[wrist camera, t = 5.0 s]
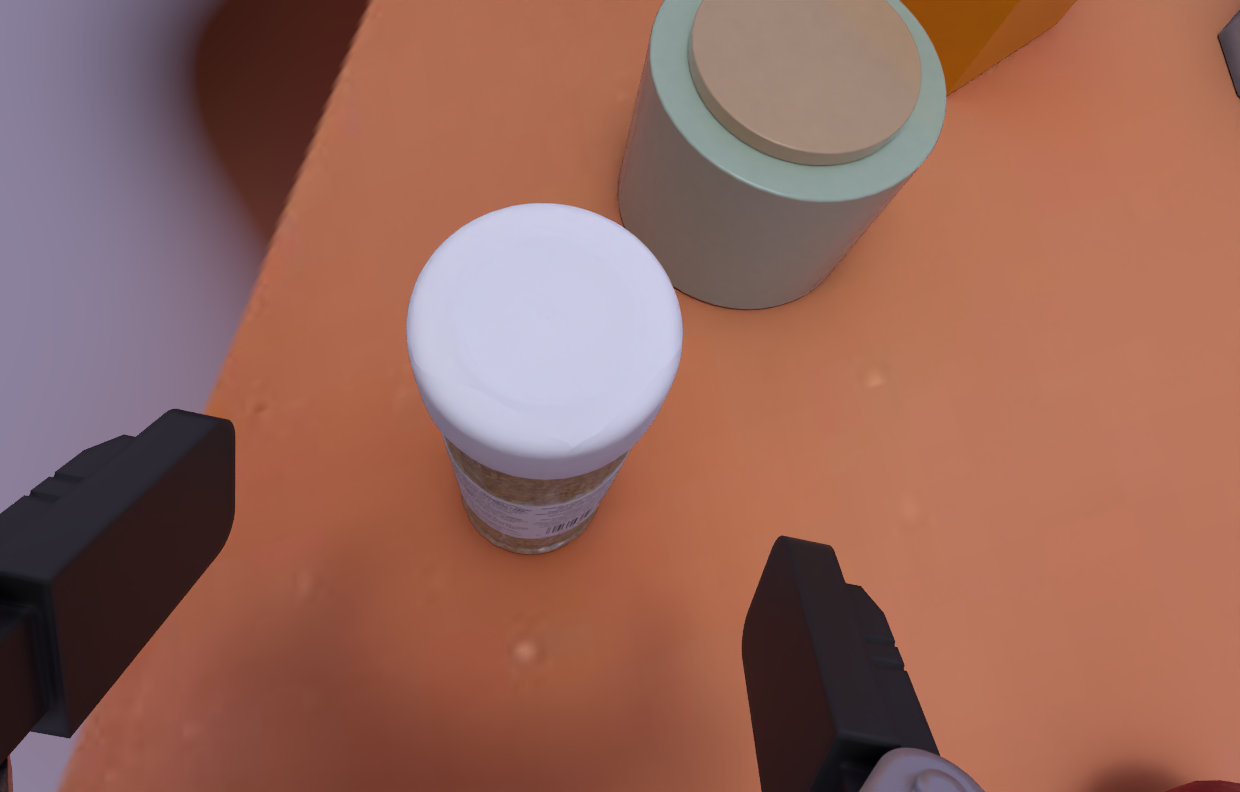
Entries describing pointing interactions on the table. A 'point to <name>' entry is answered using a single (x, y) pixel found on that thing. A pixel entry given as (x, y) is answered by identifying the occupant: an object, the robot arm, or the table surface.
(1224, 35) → the coffee maker
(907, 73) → the pale green cylinder
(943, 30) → the orange juice
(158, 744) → the table surface
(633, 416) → the sprinkles bottle
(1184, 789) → the onion
